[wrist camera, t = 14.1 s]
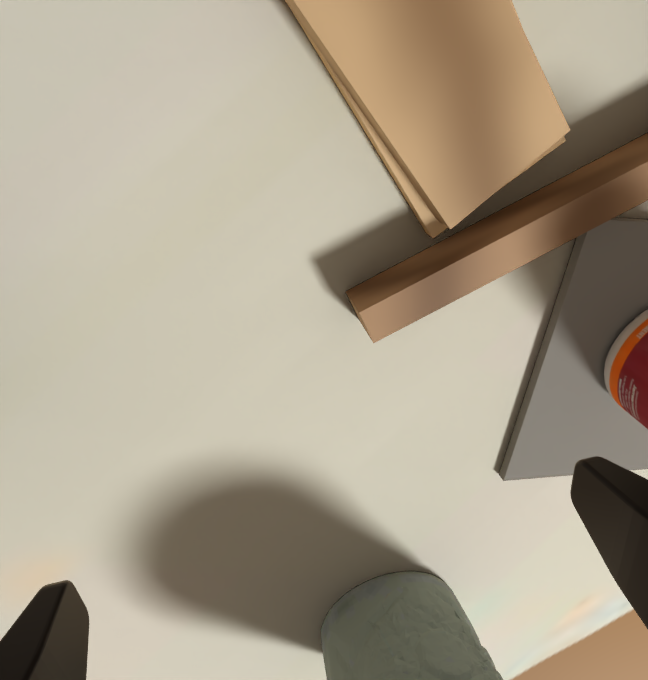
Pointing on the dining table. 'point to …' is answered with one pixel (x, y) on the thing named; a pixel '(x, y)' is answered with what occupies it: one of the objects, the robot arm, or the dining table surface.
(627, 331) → the pill bottle
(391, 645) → the grey-green rounded cylinder
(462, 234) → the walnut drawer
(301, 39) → the dining table surface
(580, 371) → the slate mat
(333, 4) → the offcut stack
